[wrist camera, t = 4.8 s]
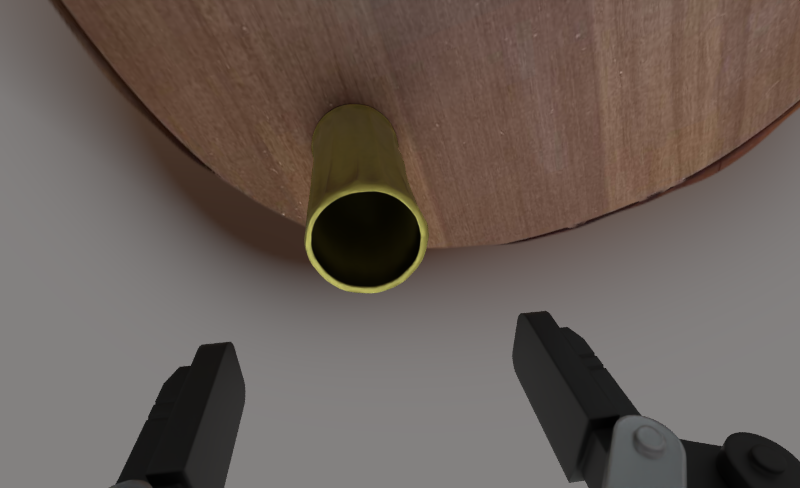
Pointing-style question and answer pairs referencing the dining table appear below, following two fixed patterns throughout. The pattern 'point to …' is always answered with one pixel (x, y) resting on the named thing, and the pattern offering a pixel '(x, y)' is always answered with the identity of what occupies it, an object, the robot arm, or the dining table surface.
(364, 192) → the vase
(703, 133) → the dining table surface
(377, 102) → the dining table surface
